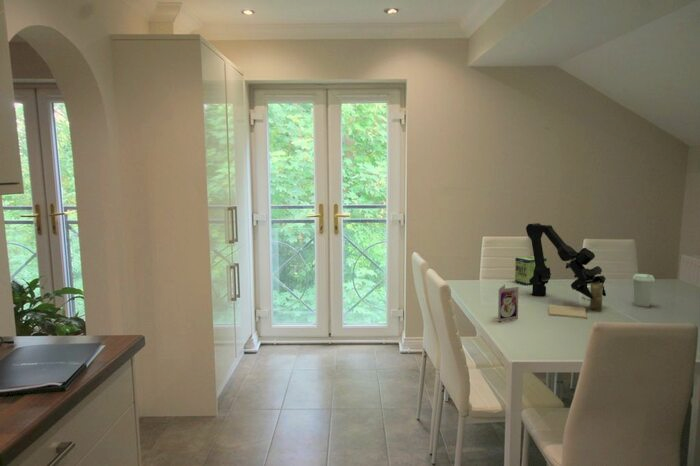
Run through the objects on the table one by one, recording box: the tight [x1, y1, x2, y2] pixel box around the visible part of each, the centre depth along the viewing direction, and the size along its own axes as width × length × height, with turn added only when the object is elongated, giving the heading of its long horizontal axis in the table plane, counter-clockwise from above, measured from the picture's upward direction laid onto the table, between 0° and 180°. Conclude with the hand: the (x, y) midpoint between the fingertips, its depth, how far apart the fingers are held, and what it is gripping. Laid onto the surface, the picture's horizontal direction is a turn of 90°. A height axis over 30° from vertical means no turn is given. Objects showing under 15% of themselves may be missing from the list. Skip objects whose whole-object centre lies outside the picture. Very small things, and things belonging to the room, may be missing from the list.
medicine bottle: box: [582, 275, 597, 301], centre depth 244 cm, size 7×7×12 cm
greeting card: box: [497, 284, 520, 323], centre depth 211 cm, size 11×7×15 cm, turn 114°
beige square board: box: [548, 304, 588, 319], centre depth 220 cm, size 16×16×1 cm
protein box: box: [514, 255, 548, 286], centre depth 283 cm, size 10×16×16 cm
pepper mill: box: [589, 282, 604, 312], centre depth 223 cm, size 5×5×13 cm
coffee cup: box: [631, 273, 656, 308], centre depth 230 cm, size 10×10×15 cm
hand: (598, 297), depth 222 cm, fingers open, 9 cm apart
